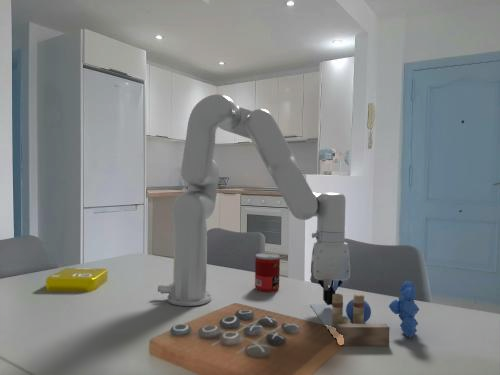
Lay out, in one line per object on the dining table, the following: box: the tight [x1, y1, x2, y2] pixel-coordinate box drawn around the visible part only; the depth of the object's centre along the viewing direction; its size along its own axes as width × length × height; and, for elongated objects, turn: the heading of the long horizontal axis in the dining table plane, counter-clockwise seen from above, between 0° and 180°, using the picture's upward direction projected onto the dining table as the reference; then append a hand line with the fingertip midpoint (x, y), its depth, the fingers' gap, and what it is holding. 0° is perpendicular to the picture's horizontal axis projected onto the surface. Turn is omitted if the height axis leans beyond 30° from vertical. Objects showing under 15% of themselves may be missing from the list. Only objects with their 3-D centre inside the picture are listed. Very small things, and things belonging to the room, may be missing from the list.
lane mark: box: [309, 303, 353, 327], centre depth 97 cm, size 9×24×1 cm, turn 4°
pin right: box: [353, 293, 365, 324], centre depth 90 cm, size 2×2×8 cm
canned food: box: [254, 252, 281, 293], centre depth 125 cm, size 8×8×11 cm
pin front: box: [342, 317, 352, 324], centre depth 89 cm, size 2×2×8 cm
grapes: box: [388, 280, 420, 338], centre depth 89 cm, size 12×7×12 cm, turn 164°
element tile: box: [45, 267, 109, 293], centre depth 124 cm, size 15×15×5 cm
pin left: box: [332, 293, 344, 328], centre depth 89 cm, size 2×2×8 cm
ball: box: [345, 298, 372, 324], centre depth 95 cm, size 6×6×6 cm
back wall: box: [336, 323, 390, 347], centre depth 83 cm, size 11×2×4 cm, turn 94°
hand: (329, 303), depth 106 cm, fingers closed
